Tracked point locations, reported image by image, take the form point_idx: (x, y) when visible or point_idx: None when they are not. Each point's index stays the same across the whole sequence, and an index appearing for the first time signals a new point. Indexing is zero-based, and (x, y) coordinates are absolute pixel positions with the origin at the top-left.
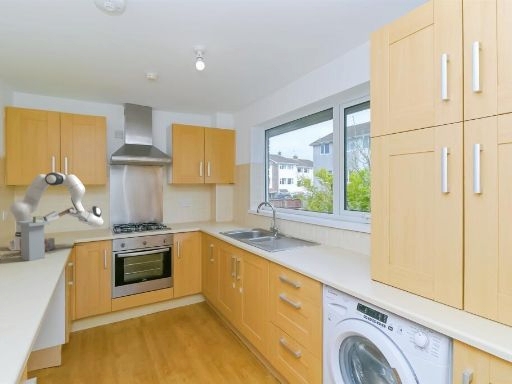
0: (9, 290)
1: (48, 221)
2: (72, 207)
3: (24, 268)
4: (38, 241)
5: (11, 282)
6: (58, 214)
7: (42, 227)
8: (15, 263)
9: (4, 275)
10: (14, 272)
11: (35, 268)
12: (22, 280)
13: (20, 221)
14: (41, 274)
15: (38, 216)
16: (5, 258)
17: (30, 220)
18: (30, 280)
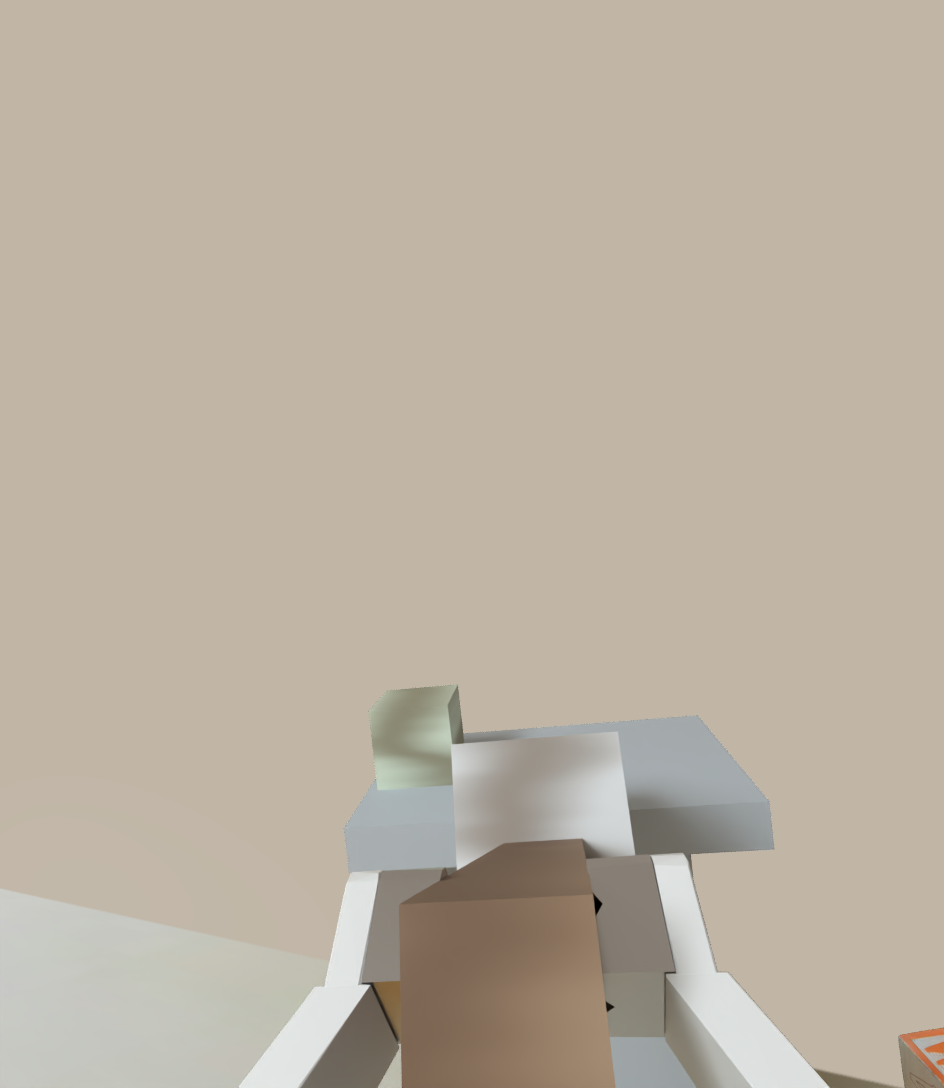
0: (50, 912)
1: (360, 824)
2: (472, 901)
3: None
4: None
5: (126, 937)
6: (501, 844)
7: None
8: None
9: (275, 949)
10: (270, 987)
11: (194, 1083)
12: (85, 965)
13: (696, 725)
14: (30, 1047)
15: (409, 699)
16: (843, 1081)
17: (733, 764)
18: (33, 982)
